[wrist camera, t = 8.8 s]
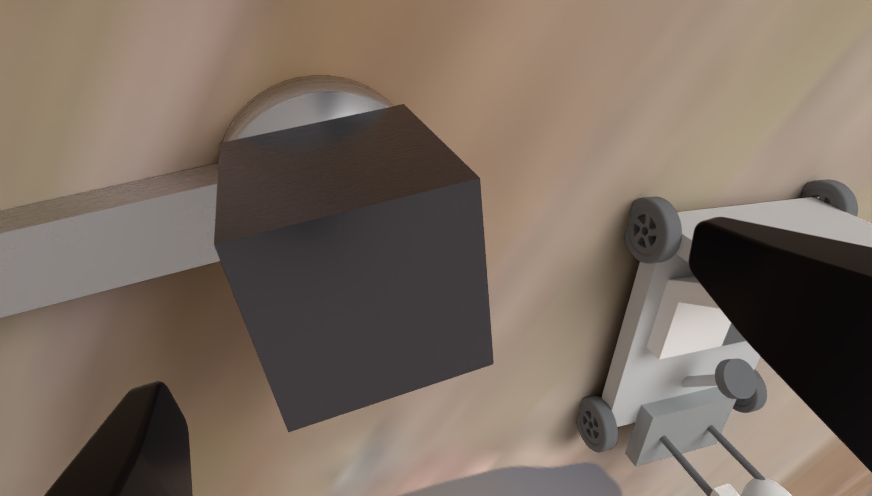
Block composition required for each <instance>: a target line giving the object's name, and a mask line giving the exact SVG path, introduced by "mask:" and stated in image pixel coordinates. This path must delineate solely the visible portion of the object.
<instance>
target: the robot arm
mask: <svg viewBox="0 0 872 496" xmlns="http://www.w3.org/2000/svg"><path fill="white" fill-rule="evenodd" d="M688 262H689V267H690V270H691V272H692V274H693V275H694V276H695V278H696V279H697V280H698V282H699V283H700V284H701V285H702V287H703V288H704V289H705V290H706V292H707V293H708V294H709V295H710V297H711V298H712V299H713V301H714V302H715V303H716V304H717V306H718V307H719V308H720V309H721V311H722V312H723V313H724V314H725V316H726V317H727V318H728V320H729V321H730V322H731V323H732V325H733V326H734V327H735V328H736V330H737V331H738V332H739V333H740V334H741V336H742V337H743V338H744V339H745V340H746V341H747V342H748V344H749V345H750V346H751V347H752V348H753V349H754V350H755V351H756V352H757V353H758V354H759V355H760V356H761V357H762V358H763V359H764V360H765V362H766V363H767V364H768V365H769V366H770V367H771V368H772V369H773V370H774V371H775V372H776V373H777V374H778V375H779V376H780V377H781V378H782V379H783V380H784V381H785V382H786V383H787V385H788V386H789V387H790V388H791V389H792V390H793V391H794V392H795V393H796V394H797V395H798V396H799V397H800V398H801V399H802V400H803V401H804V402H805V403H806V404H807V405H808V406H809V408H810V409H811V410H812V411H813V412H814V413H815V414H816V415H817V416H818V417H819V418H820V419H821V420H822V421H823V422H824V423H825V424H826V425H827V426H828V427H829V428H830V429H831V431H832V432H833V433H834V434H835V435H836V436H837V437H838V438H839V439H840V440H841V441H842V442H843V443H844V444H845V445H846V446H847V447H848V448H849V449H850V450H851V451H852V452H853V454H854V455H855V456H856V457H857V458H858V459H859V460H860V461H861V462H862V463H863V464H864V465H865V466H866V467H867V468H868V469H869V470H870V471H871V472H872V247H868V246H863V245H858V244H854V243H849V242H844V241H839V240H834V239H829V238H824V237H819V236H815V235H810V234H805V233H800V232H795V231H790V230H785V229H780V228H775V227H771V226H766V225H761V224H756V223H751V222H746V221H741V220H736V219H732V218H727V217H714V218H711V219H707V220H704V221H701V222H699V223H698V224H697V225H696V227H695V229H694V233H693V238H692V243H691V249H690V254H689V260H688ZM44 496H193V494H192V478H191V462H190V446H189V432H188V426H187V423H186V420H185V418H184V416H183V414H182V412H181V410H180V408H179V407H178V405H177V403H176V401H175V399H174V398H173V396H172V394H171V392H170V390H169V389H168V387H167V386H166V385H165V384H164V383H163V382H159V381H157V382H153V383H150V384H146V385H143V386H140V387H136V388H134V389H132V390H130V391H129V392H128V393H127V394H126V395H125V397H124V398H123V399H122V400H121V402H120V403H119V404H118V405H117V406H116V408H115V409H114V410H113V411H112V413H111V414H110V415H109V416H108V418H107V419H106V420H105V421H104V422H103V424H102V425H101V426H100V427H99V429H98V430H97V431H96V432H95V434H94V435H93V436H92V437H91V438H90V440H89V441H88V442H87V443H86V445H85V446H84V447H83V448H82V450H81V451H80V452H79V453H78V454H77V456H76V457H75V458H74V459H73V461H72V462H71V463H70V464H69V466H68V467H67V468H66V469H65V470H64V472H63V473H62V474H61V475H60V477H59V478H58V479H57V480H56V482H55V483H54V484H53V485H52V486H51V488H50V489H49V490H48V491H47V493H46V494H45V495H44Z"/></svg>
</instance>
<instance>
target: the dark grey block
mask: <svg viewBox="0 0 872 496" xmlns="http://www.w3.org/2000/svg"><path fill="white" fill-rule="evenodd" d="M214 246H215V249H216V251H217V254H218V256H219V259H220V261H221V264H222V266H223V269H224V271H225V274H226V276H227V279H228V282H229V284H230V287H231V289H232V292H233V294H234V297H235V299H236V302H237V304H238V307H239V309H240V312H241V314H242V317H243V319H244V322H245V324H246V327H247V329H248V332H249V334H250V337H251V339H252V342H253V344H254V347H255V349H256V352H257V354H258V357H259V359H260V362H261V364H262V367H263V369H264V372H265V374H266V377H267V379H268V382H269V384H270V387H271V389H272V392H273V395H274V397H275V400H276V402H277V405H278V407H279V410H280V412H281V415H282V417H283V420H284V422H285V425H286V427H287V430H288V432H291V431H294V430H297V429H300V428H303V427H306V426H309V425H312V424H315V423H318V422H321V421H324V420H327V419H330V418H333V417H336V416H339V415H342V414H345V413H348V412H351V411H354V410H357V409H360V408H363V407H366V406H369V405H372V404H375V403H378V402H381V401H384V400H387V399H390V398H393V397H396V396H399V395H402V394H405V393H408V392H411V391H414V390H417V389H420V388H423V387H426V386H429V385H432V384H435V383H438V382H441V381H444V380H447V379H450V378H453V377H456V376H459V375H462V374H465V373H468V372H471V371H474V370H477V369H480V368H483V367H486V366H489V365H492V364H493V350H492V337H491V323H490V309H489V295H488V282H487V268H486V254H485V241H484V227H483V213H482V199H481V186H480V178H479V177H478V176H477V175H476V174H475V173H474V172H473V171H472V170H471V169H470V168H469V167H468V166H467V165H466V164H465V163H464V162H463V161H462V160H461V159H460V158H459V157H458V156H457V155H456V154H455V153H454V152H453V151H452V150H451V149H449V148H448V147H447V146H446V145H445V144H444V143H443V142H442V141H441V140H440V139H439V138H438V137H437V136H436V135H435V134H434V133H433V132H432V131H431V130H430V129H429V128H428V127H427V126H426V125H425V124H424V123H423V122H422V121H421V120H420V119H419V118H418V117H416V116H415V115H414V114H413V113H412V112H411V111H410V110H409V109H408V108H407V107H406V106H405V105H404V104H402V105H397V106H393V107H388V108H383V109H378V110H374V111H369V112H364V113H359V114H355V115H350V116H345V117H341V118H336V119H331V120H326V121H322V122H317V123H312V124H307V125H303V126H298V127H293V128H288V129H284V130H279V131H274V132H269V133H265V134H260V135H255V136H251V137H246V138H241V139H236V140H232V141H227V142H222V143H220V148H219V165H218V182H217V199H216V216H215V232H214Z"/></svg>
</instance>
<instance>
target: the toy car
mask: <svg viewBox="0 0 872 496" xmlns="http://www.w3.org/2000/svg"><path fill="white" fill-rule="evenodd" d="M817 197H819V198H817ZM857 213H858V205H857V200H856V198H855V195H854V194H853V192H852V191H851V190H850V189H849V188H848V187H847V186H846V185H844V184H843V183H841V182H838V181H835V180H817V181H812V182H809V183H807V184H806V185H805V187H804V190H803V192H802V195H801V198H799V199H790V200H782V201H773V202H764V203H755V204H746V205H737V206H728V207H719V208H710V209H701V210H692V211H683V212H677V211H676V209H675V208H674V207H673V205H672V204H671V203H670V202H668V201H667V200H665V199H663V198H661V197H647V198H640V199H637V200H636V201H634V203H633V205H632V209H631V216H630V222H629V224H628V227H627V229H626V232H625V236H624V239H625V243H626V245H627V247H628V249H629V251H630V253H631V254H632V255H633V256H634V257H635V258H636V259H637V260H639V261H640V264H639V267H638V271H637V274H636V278H635V281H634V285H633V288H632V292H631V295H630V299H629V302H628V306H627V309H626V313H625V316H624V320H623V324H622V327H621V331H620V334H619V338H618V341H617V345H616V348H615V352H614V355H613V359H612V362H611V366H610V369H609V373H608V376H607V380H606V384H605V387H604V391H603V394H602V398H600V397H598V396H589V397H585V398H583V399H582V402H581V407H580V413H579V415H578V417H577V421H576V423H577V427H578V430H579V432H580V435H581V437H582V439H583V440H584V442H585V443H586V445H587V446H588V447H589V448H590V449H592V450H593V451H595V452H603V451H606V450H610V449H612V448H613V447H614V446H615V445H616V443H617V439H618V428H617V427H620V426H623V425H627V424H631V423H635V422H636V423H635V426H634V429H633V432H632V434H631V437H630V440H629V443H628V446H627V449H626V452H625V454H626V455H627V456H628V457H629V459H630V460H631V461H632V463H633V464H634V465H635V467H637V466H640V465H644V464H647V463H651V462H654V461H658V460H661V459H665V458H668V457H672V456H674V457H675V458H676V459H677V461H678V462H679V463H680V464H681V465H682V466H683V468H684V469H685V470H686V471H687V472H688V473H689V475H690V476H691V477H692V478H693V479H694V481H695V482H696V483H697V484H698V485H699V486H700V488H701V489H702V490H703V491H704V492H705V493H706V495H707V496H740V495H739V494H738V493H737V492H736V490H735V489H734V488H733V487H732V486H731V485H730V484H726V485H723V486H719V487H716V488H713V490H712V489H711V487H710V486H709V485H708V484H707V483H706V482H705V481H704V479H703V478H702V477H701V476H700V475H699V474H698V472H697V471H696V470H695V469H694V468H693V467H692V466H691V464H690V463H689V462H688V461H687V460H686V459H685V458H684V456H683V455H682V453H686V452H689V451H693V450H696V449H700V448H704V447H707V446H711V445H714V444H716V443H717V441H719V442H720V443H721V444H722V445H723V446H724V447H725V448H726V449H727V450H728V451H729V452H730V454H731V455H732V456H733V457H734V458H735V459H736V460H737V461H738V462H739V463H740V464H741V465H742V466H743V467H744V468H745V469H746V470H747V471H748V472H749V473H750V474H751V475H752V476H753V477H754V479H752V480H751V481H750V482H748V484H747V485H746V486H745V488H744V490H743V492H742V494H741V496H792V495H791V494H790V493H789V492H788V491H787V490H786V489H784V488H783V487H782V486H781V485H779V484H778V483H776V482H774V481H772V480H770V479H768V478H764V477H763V476H762V475H761V474H760V473H759V472H758V471H757V470H756V469H755V468H754V467H753V466H752V465H751V464H750V463H749V462H748V461H747V460H746V459H745V458H744V457H743V456H742V455H741V454H740V453H739V452H738V451H737V450H736V449H735V448H734V447H733V446H732V445H731V444H730V443H729V442H728V441H727V439H726V438H725V437H724V436H723V435H722V434H721V432H722V430H723V428H724V426H725V424H726V421H727V419H728V417H729V415H730V413H731V410H732V408H733V409H735V410H737V411H739V412H743V413H748V412H752V411H756V410H759V409H760V408H762V407H763V406H764V404H765V402H766V399H767V390H766V386H765V383H764V381H763V379H762V377H761V376H760V374H759V373H758V372H757V371H756V370H755V367H756V365H757V363H758V361H759V359H760V355H759V354H758V353H757V352H756V351H755V350H754V349H753V348H752V347H751V346H750V345H749V344H748V342H747V341H746V340H745V339H744V338H743V337H742V336H741V334H740V333H739V332H738V331H737V330H736V328H735V327H734V326H733V325H732V323H731V322H730V321H729V320H728V318H727V317H726V316H725V314H724V313H723V312H722V311H721V309H720V308H719V307H718V306H717V304H716V303H715V302H714V301H713V299H712V298H711V297H710V295H709V294H708V293H707V292H706V290H705V289H704V288H703V287H702V285H701V284H700V283H699V282H698V280H697V279H696V278H695V276H694V275H693V274H692V272H691V270H690V267H689V262H688V260H689V254H690V249H691V243H692V238H693V233H694V229H695V227H696V225H697V224H698V223H699V222H701V221H704V220H707V219H711V218H714V217H727V218H732V219H736V220H741V221H746V222H751V223H756V224H761V225H766V226H771V227H775V228H780V229H785V230H790V231H795V232H800V233H805V234H810V235H815V236H819V237H824V238H829V239H834V240H839V241H844V242H849V243H854V244H858V245H863V246H868V247H872V223H869V222H867V221H865V220H863V219H860V218H858V217H857Z"/></svg>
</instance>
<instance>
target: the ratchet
mask: <svg viewBox="0 0 872 496" xmlns="http://www.w3.org/2000/svg"><path fill="white" fill-rule="evenodd" d="M388 107H393V105H392V104H391V103H390V102H389V101H388V100H387V99H385V98H384V97H383V96H382V95H380V94H379V93H377V92H376V91H374V90H372V89H371V88H369V87H368V86H365V85H363V84H361V83H358V82H356V81H353V80H349V79H346V78H342V77H336V76H329V75H311V76H304V77H297V78H294V79H290V80H286V81H283V82H281V83H279V84H276V85H274V86H272V87H270V88H268V89H266V90H265V91H263V92H261V93H260V94H258V95H257V96H256V97H255V98H253V99H252V100H251V101H250V102H248V103H247V104H246V105H245V107H244V108H243V109H242V110H241V111H240V112H239V113H238V114H237V116H236V117H235V119H234V120H233V122H232V123H231V124H230V126H229V128H228V130H227V132H226V134H225V137H224V140H223V142H227V141H232V140H236V139H241V138H246V137H251V136H255V135H260V134H265V133H269V132H274V131H279V130H284V129H288V128H293V127H298V126H303V125H307V124H312V123H317V122H322V121H326V120H331V119H336V118H341V117H345V116H350V115H355V114H359V113H364V112H369V111H374V110H378V109H383V108H388ZM218 165H219V161H218V163H216V164H212V165H207V166H203V167H198V168H194V169H189V170H185V171H180V172H176V173H171V174H167V175H162V176H158V177H153V178H149V179H144V180H140V181H135V182H131V183H126V184H122V185H117V186H113V187H108V188H104V189H99V190H95V191H90V192H86V193H81V194H76V195H72V196H67V197H63V198H58V199H54V200H49V201H45V202H40V203H36V204H31V205H27V206H22V207H18V208H13V209H9V210H4V211H0V318H2V317H6V316H10V315H14V314H18V313H21V312H25V311H29V310H33V309H37V308H41V307H45V306H48V305H52V304H56V303H60V302H64V301H68V300H72V299H75V298H79V297H83V296H87V295H91V294H95V293H99V292H102V291H106V290H110V289H114V288H118V287H122V286H126V285H129V284H133V283H137V282H141V281H145V280H149V279H153V278H156V277H160V276H164V275H168V274H172V273H176V272H180V271H183V270H187V269H191V268H195V267H199V266H203V265H206V264H210V263H214V262H218V261H220V259H219V256H218V254H217V251H216V249H215V246H214V232H215V216H216V199H217V182H218Z"/></svg>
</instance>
